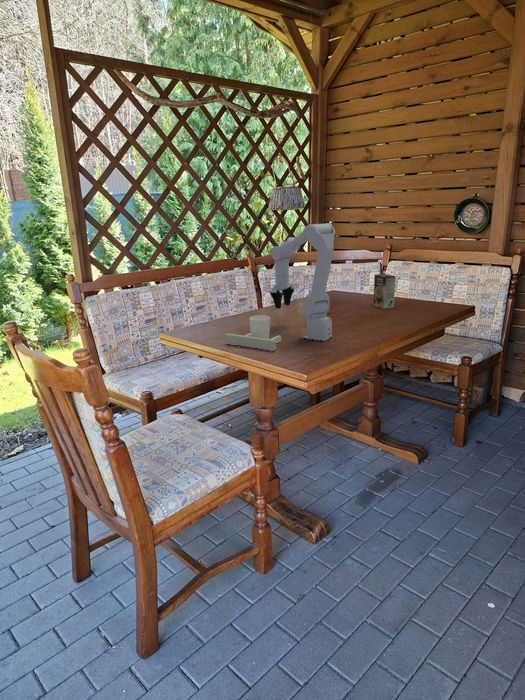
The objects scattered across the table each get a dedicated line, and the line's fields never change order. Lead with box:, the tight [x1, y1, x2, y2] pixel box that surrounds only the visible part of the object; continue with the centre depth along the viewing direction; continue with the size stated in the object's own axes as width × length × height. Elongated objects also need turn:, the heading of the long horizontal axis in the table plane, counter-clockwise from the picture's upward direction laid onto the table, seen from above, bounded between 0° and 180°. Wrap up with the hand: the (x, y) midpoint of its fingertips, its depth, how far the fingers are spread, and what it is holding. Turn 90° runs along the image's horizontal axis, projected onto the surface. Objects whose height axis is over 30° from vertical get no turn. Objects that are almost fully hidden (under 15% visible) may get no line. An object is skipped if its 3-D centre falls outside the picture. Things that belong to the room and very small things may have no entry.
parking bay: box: [224, 332, 282, 352], centre depth 182 cm, size 22×13×4 cm, turn 57°
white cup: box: [249, 314, 271, 339], centre depth 183 cm, size 8×8×10 cm
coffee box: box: [373, 273, 396, 310], centre depth 238 cm, size 9×6×16 cm
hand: (282, 306), depth 203 cm, fingers open, 7 cm apart
